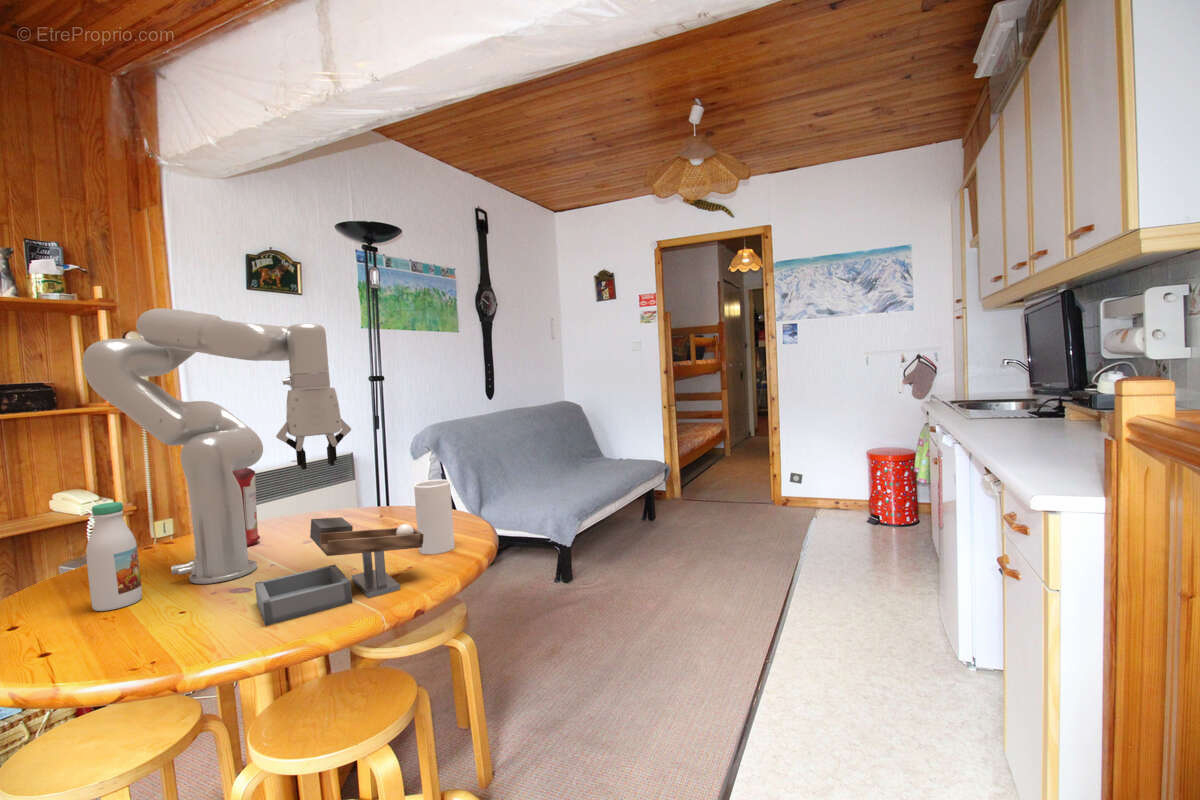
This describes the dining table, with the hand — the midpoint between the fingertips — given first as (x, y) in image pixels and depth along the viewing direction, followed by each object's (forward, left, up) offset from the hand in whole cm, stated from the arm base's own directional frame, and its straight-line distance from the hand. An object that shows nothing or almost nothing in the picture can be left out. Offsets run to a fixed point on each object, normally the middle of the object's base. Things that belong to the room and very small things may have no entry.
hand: (317, 465), depth 126 cm
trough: (+6, -11, -16) cm, 20 cm away
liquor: (-12, +40, -24) cm, 48 cm away
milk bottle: (-36, +11, -24) cm, 44 cm away
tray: (-7, -16, -23) cm, 29 cm away
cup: (+24, -2, -24) cm, 34 cm away
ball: (+13, -16, -14) cm, 25 cm away
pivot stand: (+6, -16, -23) cm, 29 cm away
